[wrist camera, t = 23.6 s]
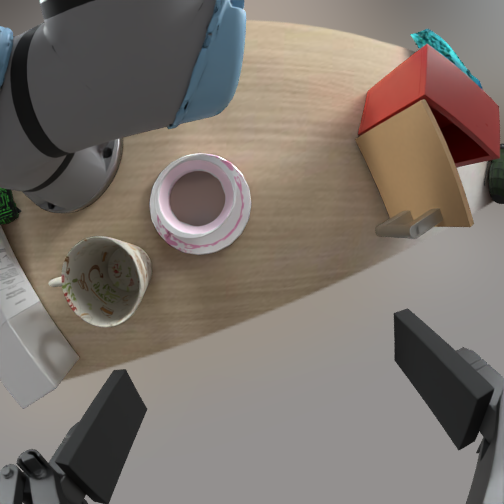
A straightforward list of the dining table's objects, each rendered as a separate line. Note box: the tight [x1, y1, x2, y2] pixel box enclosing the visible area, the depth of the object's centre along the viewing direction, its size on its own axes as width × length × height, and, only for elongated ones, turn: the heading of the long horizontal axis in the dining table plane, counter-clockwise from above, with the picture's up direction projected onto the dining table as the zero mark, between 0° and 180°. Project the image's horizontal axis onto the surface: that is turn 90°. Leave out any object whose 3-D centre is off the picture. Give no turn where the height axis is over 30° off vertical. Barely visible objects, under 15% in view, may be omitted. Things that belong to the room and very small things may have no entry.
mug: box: [49, 236, 152, 327], centre depth 28 cm, size 8×13×10 cm, turn 99°
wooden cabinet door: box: [355, 100, 474, 239], centre depth 29 cm, size 6×13×15 cm, turn 26°
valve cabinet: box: [358, 44, 500, 167], centre depth 29 cm, size 8×13×15 cm, turn 71°
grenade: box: [484, 144, 504, 204], centre depth 37 cm, size 6×6×12 cm
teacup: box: [149, 153, 252, 255], centre depth 31 cm, size 12×12×6 cm
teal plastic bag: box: [411, 29, 483, 90], centre depth 36 cm, size 18×16×2 cm
